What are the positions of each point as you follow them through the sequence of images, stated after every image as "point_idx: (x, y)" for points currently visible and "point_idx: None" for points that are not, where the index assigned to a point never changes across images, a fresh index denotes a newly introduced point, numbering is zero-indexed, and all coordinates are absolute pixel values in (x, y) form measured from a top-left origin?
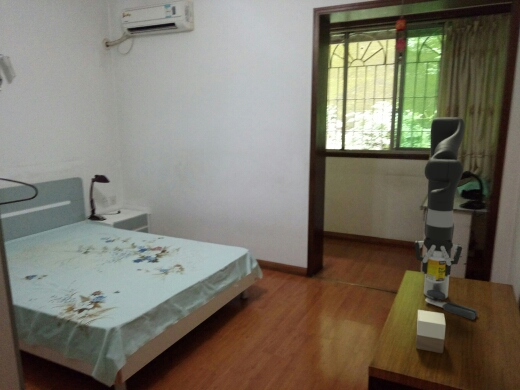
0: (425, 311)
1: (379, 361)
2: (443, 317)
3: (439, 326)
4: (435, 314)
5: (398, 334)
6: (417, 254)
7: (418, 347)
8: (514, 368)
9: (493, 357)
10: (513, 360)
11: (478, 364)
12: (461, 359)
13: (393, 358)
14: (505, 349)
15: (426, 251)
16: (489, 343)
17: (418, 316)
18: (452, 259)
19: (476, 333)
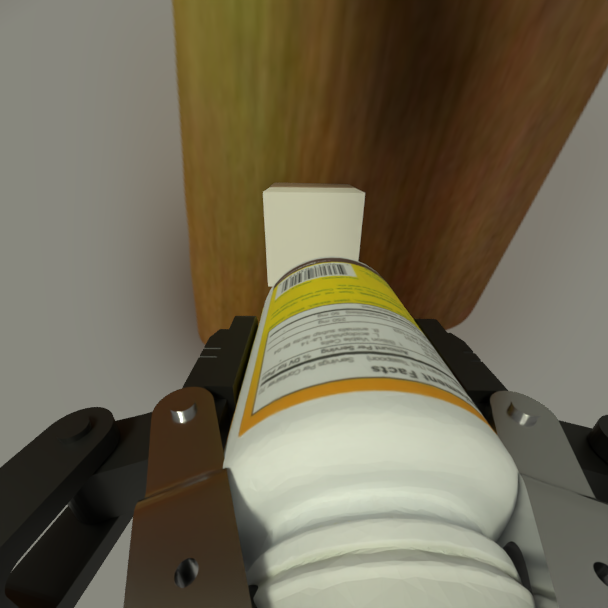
0: (292, 199)
1: (206, 333)
2: (357, 231)
3: None
4: (330, 214)
5: (224, 191)
6: (45, 585)
7: None
8: (496, 264)
9: (467, 229)
10: (514, 227)
11: (416, 275)
12: (382, 267)
13: (231, 313)
14: (525, 169)
15: (140, 561)
16: (492, 145)
17: (267, 255)
18: (600, 481)
19: (478, 77)
